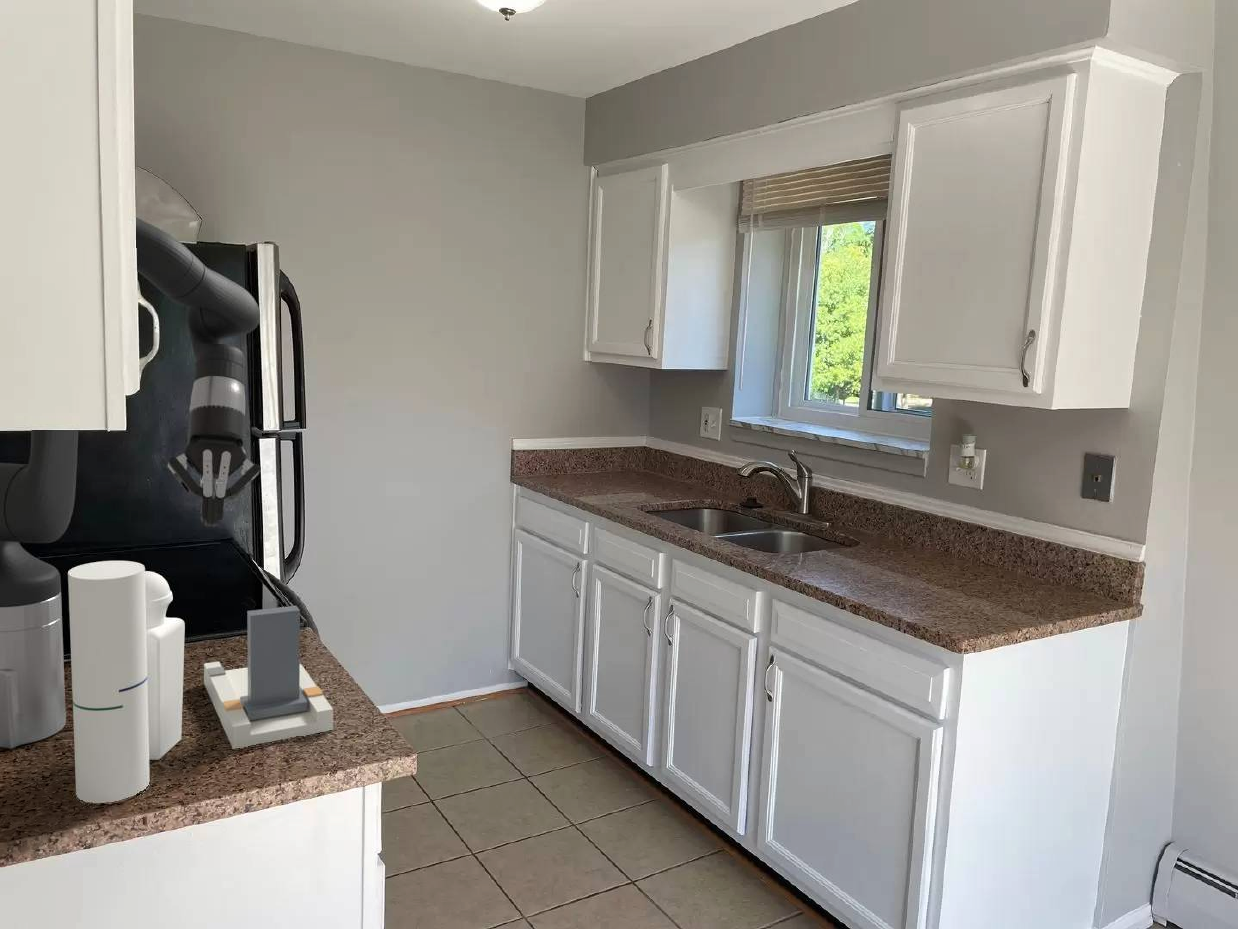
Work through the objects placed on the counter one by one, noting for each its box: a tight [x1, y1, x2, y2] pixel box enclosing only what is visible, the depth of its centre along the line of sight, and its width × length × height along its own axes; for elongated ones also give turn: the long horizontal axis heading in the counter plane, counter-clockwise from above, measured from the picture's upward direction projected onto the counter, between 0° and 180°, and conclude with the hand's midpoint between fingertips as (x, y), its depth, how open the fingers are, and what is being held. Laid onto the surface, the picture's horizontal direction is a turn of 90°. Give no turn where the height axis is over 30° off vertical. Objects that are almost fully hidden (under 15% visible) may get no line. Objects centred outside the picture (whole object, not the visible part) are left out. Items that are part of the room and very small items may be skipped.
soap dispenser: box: [145, 570, 186, 761], centre depth 110 cm, size 6×6×22 cm
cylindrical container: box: [67, 560, 150, 803], centre depth 101 cm, size 7×7×25 cm
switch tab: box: [240, 605, 308, 721], centre depth 120 cm, size 5×7×13 cm
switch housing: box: [203, 660, 334, 750], centre depth 125 cm, size 22×12×3 cm, turn 32°
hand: (211, 525), depth 133 cm, fingers closed
